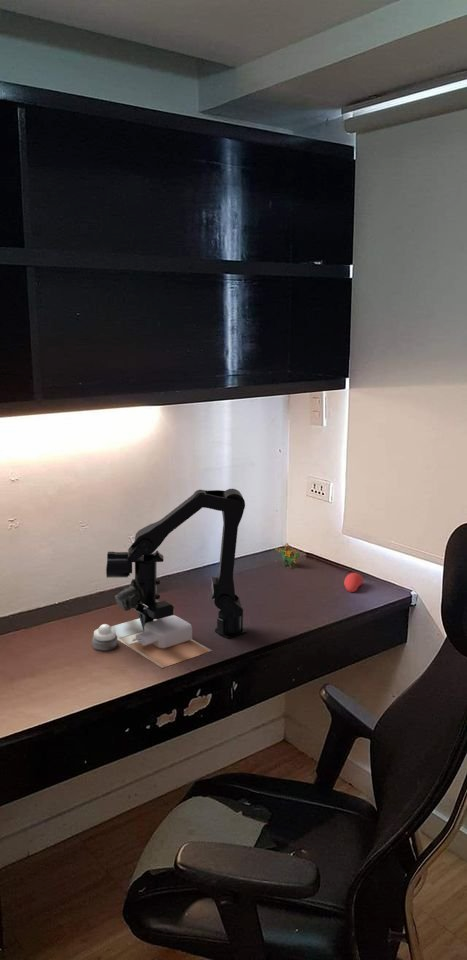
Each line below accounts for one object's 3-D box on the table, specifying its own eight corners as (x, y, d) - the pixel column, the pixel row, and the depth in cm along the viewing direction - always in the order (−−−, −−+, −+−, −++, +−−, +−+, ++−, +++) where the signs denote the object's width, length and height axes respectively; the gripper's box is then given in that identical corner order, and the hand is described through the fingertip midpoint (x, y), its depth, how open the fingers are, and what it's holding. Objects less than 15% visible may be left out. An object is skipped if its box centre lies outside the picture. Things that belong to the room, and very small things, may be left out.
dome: (108, 630, 199) (108, 618, 199) (119, 637, 195) (119, 625, 195) (90, 636, 196) (89, 623, 195) (100, 643, 192) (100, 630, 191)
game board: (149, 615, 215) (149, 608, 215) (211, 651, 194) (211, 643, 193) (77, 636, 201) (77, 629, 200) (136, 677, 179) (136, 669, 179)
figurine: (296, 571, 254) (297, 548, 252) (271, 562, 262) (271, 540, 260) (302, 569, 256) (303, 546, 254) (277, 560, 264) (278, 538, 262)
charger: (125, 644, 196) (172, 629, 206) (144, 656, 189) (192, 641, 199) (124, 627, 195) (172, 613, 205) (143, 639, 188) (192, 624, 198)
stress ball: (337, 593, 239) (340, 580, 234) (350, 576, 244) (354, 563, 240) (351, 601, 237) (355, 588, 232) (364, 584, 242) (368, 571, 238)
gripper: (101, 572, 201) (102, 626, 205) (138, 593, 187) (139, 651, 191) (136, 564, 208) (137, 617, 211) (175, 584, 194) (175, 640, 197)
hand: (146, 631), depth 203 cm, fingers closed
